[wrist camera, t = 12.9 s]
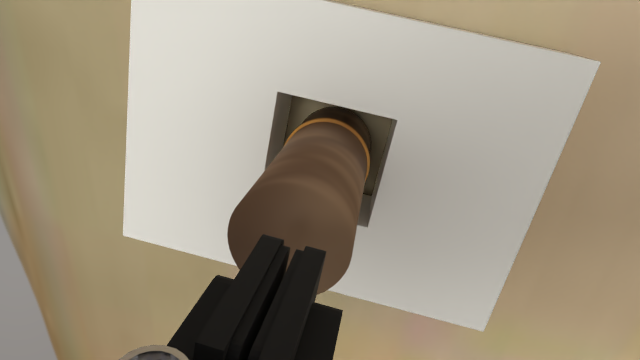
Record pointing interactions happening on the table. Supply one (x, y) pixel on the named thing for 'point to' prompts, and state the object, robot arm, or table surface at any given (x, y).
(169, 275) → the table surface
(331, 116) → the peg
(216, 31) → the board
